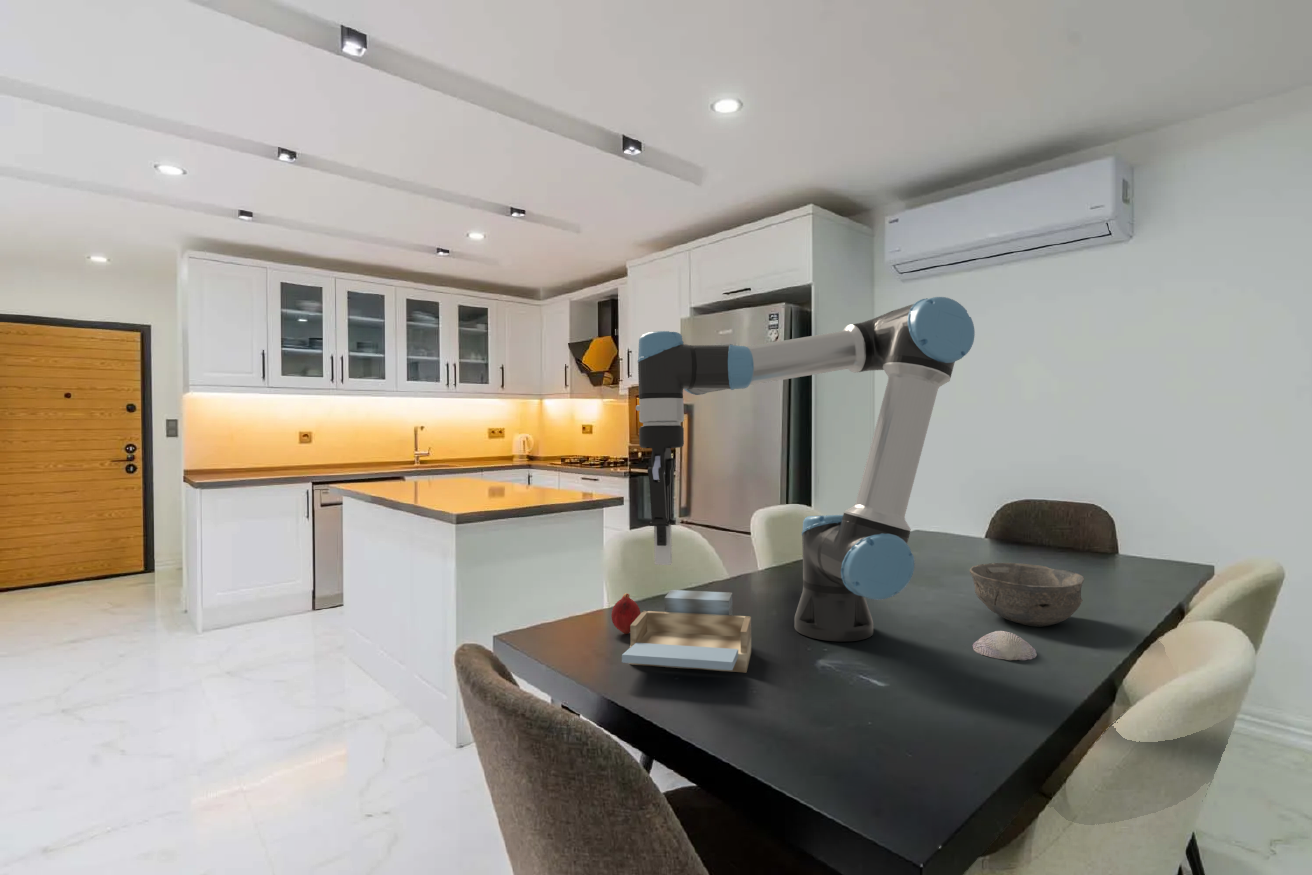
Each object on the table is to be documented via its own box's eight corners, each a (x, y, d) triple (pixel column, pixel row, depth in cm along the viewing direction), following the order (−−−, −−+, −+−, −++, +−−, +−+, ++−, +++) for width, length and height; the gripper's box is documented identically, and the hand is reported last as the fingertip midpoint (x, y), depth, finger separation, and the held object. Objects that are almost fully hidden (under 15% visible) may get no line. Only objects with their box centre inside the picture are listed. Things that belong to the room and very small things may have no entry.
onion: (637, 639, 125) (636, 597, 125) (608, 637, 126) (607, 596, 126) (643, 630, 130) (643, 590, 130) (615, 628, 132) (615, 589, 132)
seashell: (977, 643, 112) (968, 615, 121) (977, 671, 113) (968, 641, 122) (1044, 647, 109) (1030, 618, 118) (1043, 676, 110) (1029, 645, 119)
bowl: (973, 629, 128) (973, 579, 128) (966, 603, 148) (966, 559, 147) (1097, 641, 121) (1097, 588, 121) (1072, 612, 140) (1072, 566, 140)
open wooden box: (753, 640, 123) (753, 593, 123) (746, 672, 107) (745, 618, 107) (651, 634, 128) (651, 588, 128) (629, 664, 111) (628, 612, 111)
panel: (738, 649, 107) (732, 662, 98) (738, 659, 107) (732, 673, 98) (636, 642, 111) (621, 654, 102) (636, 652, 111) (621, 665, 102)
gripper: (646, 425, 117) (648, 555, 117) (631, 424, 104) (633, 571, 104) (688, 424, 115) (690, 556, 116) (677, 423, 102) (679, 572, 103)
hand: (663, 563), depth 110 cm, fingers closed
